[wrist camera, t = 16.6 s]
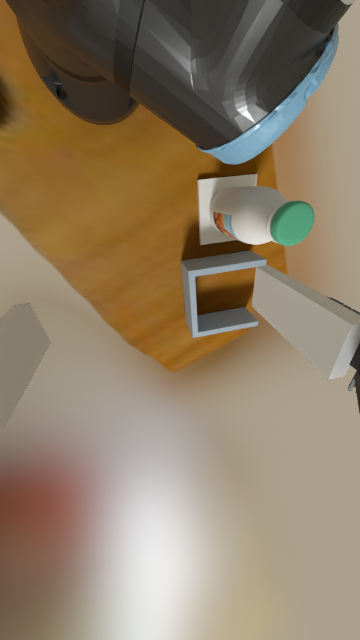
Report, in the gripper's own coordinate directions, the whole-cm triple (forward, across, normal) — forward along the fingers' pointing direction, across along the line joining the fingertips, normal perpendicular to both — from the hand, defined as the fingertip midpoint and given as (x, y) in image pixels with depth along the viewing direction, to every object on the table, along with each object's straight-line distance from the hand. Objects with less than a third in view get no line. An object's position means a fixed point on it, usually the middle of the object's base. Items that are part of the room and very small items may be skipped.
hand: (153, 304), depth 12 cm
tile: (+32, +17, +1) cm, 36 cm away
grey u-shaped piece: (+32, +15, -15) cm, 38 cm away
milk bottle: (+31, +17, +1) cm, 36 cm away
